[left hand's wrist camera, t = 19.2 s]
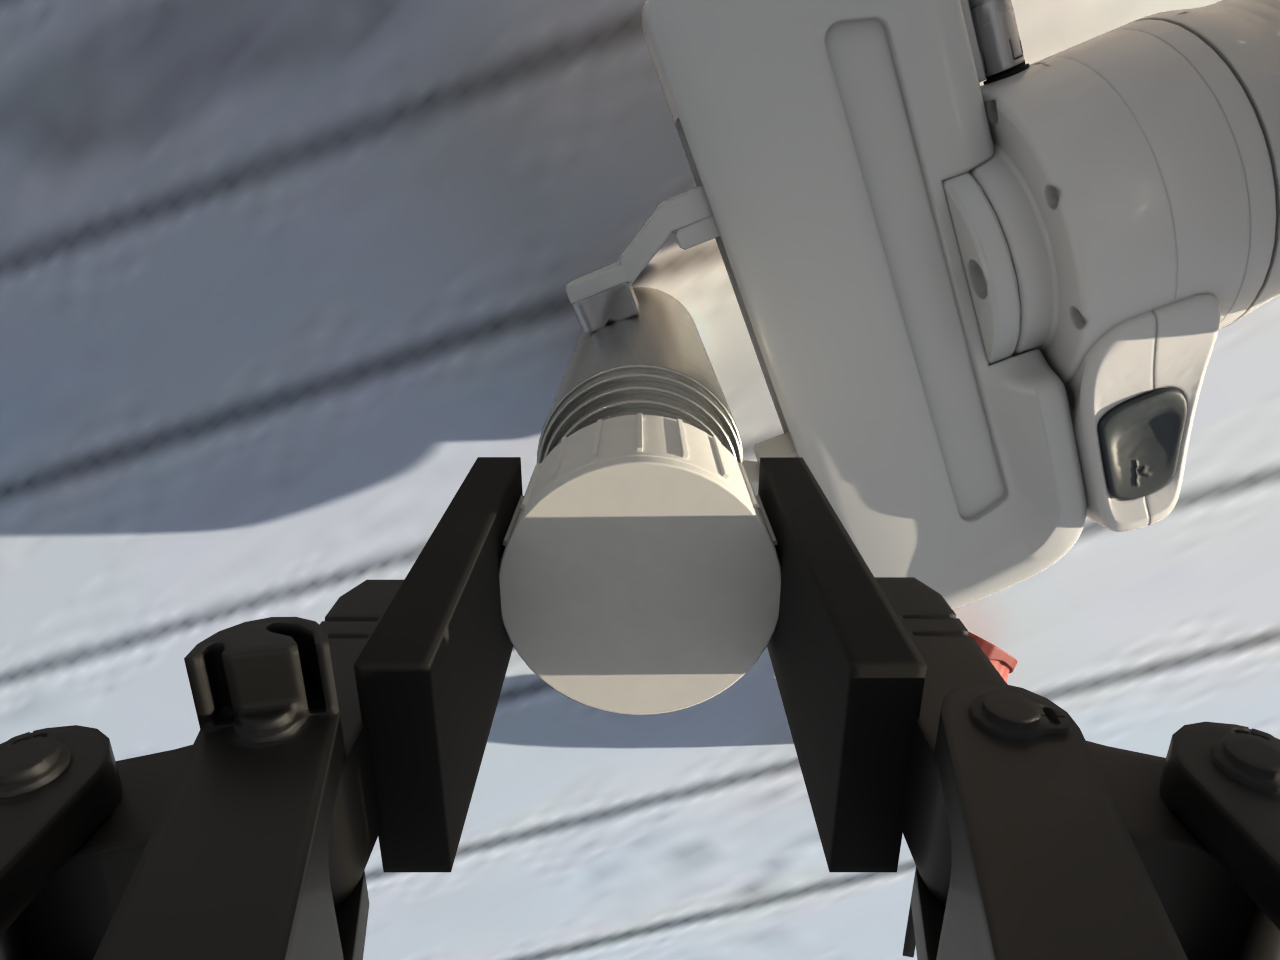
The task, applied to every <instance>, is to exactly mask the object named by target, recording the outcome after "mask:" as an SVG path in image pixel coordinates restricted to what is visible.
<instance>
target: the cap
mask: <svg viewBox="0 0 1280 960" xmlns="http://www.w3.org/2000/svg"><path fill="white" fill-rule="evenodd" d="M503 545H504V546H506V547H505V550H504V553H503V556H502V559H501V563H500V569H499V581H500V596H501V611H502V620H503V624H504V626H505V629H506V631H507V633H508V636H509V638H510V640H511V642H512V644H513V645H514V647H515V649H516V650H517V652H518V654H519V655H520V657H521V658H522V659H523V660H524V662H525V663H526V664H527V665H528V667H529V668H530V669H531V670H532V671H533V672H534V673H535V674H536V675H537V676H538V677H539V678H540V679H541V680H543V681H544V682H545V683H547V684H548V685H549V686H551V687H552V688H553V689H555V690H556V691H558V692H560V693H561V694H563V695H565V696H566V697H568V698H570V699H572V700H574V701H577V702H579V703H581V704H584V705H586V706H589V707H593V708H596V709H599V710H603V711H608V712H613V713H619V714H630V715H651V714H660V713H667V712H673V711H677V710H681V709H685V708H688V707H691V706H694V705H696V704H699V703H701V702H704V701H706V700H708V699H710V698H712V697H714V696H716V695H717V694H719V693H721V692H722V691H724V690H725V689H727V688H728V687H730V686H731V685H733V684H734V683H735V682H736V681H737V680H739V679H740V678H741V677H742V676H743V675H744V674H745V673H746V672H747V671H748V670H749V669H750V668H751V667H752V666H753V664H754V663H755V662H756V661H757V660H758V658H759V657H760V655H761V654H762V652H763V651H764V649H765V648H766V646H767V644H768V642H769V640H770V638H771V636H772V634H773V632H774V630H775V627H776V624H777V621H778V617H779V604H780V589H781V566H780V562H779V559H778V555H777V552H776V548H775V546H774V545H777V540H776V538H775V535H774V533H773V530H772V527H771V525H770V522H769V520H768V517H767V514H766V512H765V509H764V507H763V504H762V501H761V499H760V496H759V495H757V496H756V495H755V492H754V490H753V487H752V484H751V482H750V479H749V476H748V474H747V471H746V468H745V466H744V464H743V463H742V462H741V463H739V462H738V461H737V460H736V459H735V457H734V456H733V455H732V454H731V453H730V451H728V450H727V449H726V448H725V447H724V446H723V445H722V444H721V443H720V442H719V441H718V438H717V437H715V436H713V437H711V436H710V435H709V434H707V433H706V432H704V431H702V430H700V429H698V428H696V427H694V426H692V425H690V424H687V423H684V422H683V421H682V420H681V419H677V420H676V419H671V418H667V417H662V416H654V415H642V413H637V415H625V416H619V417H613V418H609V419H605V420H602V419H599V420H597V422H595V423H593V424H591V425H589V426H586V427H584V428H582V429H580V430H578V431H577V432H575V433H573V434H572V435H570V436H569V437H566V436H565V437H563V438H562V441H561V443H560V444H558V445H557V446H556V447H555V448H554V449H553V450H552V451H551V452H550V453H549V454H548V455H547V456H546V457H545V458H544V460H543V461H542V463H541V464H540V463H537V465H536V466H535V469H534V471H533V474H532V477H531V479H530V482H529V485H528V487H527V490H526V493H525V495H524V496H522V495H521V497H520V500H519V502H518V505H517V507H516V510H515V512H514V515H513V518H512V520H511V523H510V525H509V528H508V531H507V533H506V536H505V538H504V541H503Z"/></svg>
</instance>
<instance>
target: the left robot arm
mask: <svg viewBox="0 0 1280 960" xmlns="http://www.w3.org/2000/svg"><path fill="white" fill-rule="evenodd" d="M521 495H522V478H521V460H520V457H478V458H477V460H476V462H475V463H474V465H473V467H472V468H471V470H470V472H469V473H468V475H467V477H466V478H465V480H464V482H463V483H462V485H461V487H460V488H459V490H458V492H457V493H456V495H455V497H454V498H453V500H452V502H451V503H450V505H449V507H448V508H447V510H446V512H445V513H444V515H443V517H442V518H441V520H440V522H439V523H438V525H437V527H436V528H435V530H434V532H433V533H432V535H431V537H430V538H429V540H428V542H427V543H426V545H425V547H424V548H423V550H422V552H421V553H420V555H419V557H418V558H417V560H416V562H415V563H414V565H413V567H412V568H411V570H410V572H409V573H408V575H407V577H406V578H405V580H366V581H364V582H363V583H361V584H360V585H358V586H356V587H355V588H353V589H352V590H350V591H349V592H347V593H346V594H344V595H342V596H341V597H340V598H339V599H338V600H337V602H336V603H335V604H334V606H333V607H332V609H331V610H330V611H329V613H328V614H327V615H326V617H325V621H322V622H321V624H320V625H319V624H318V623H317V622H315V621H311V620H307V619H303V618H298V617H270V618H265V619H259V620H254V621H249V622H244V623H241V624H239V625H236V626H233V627H230V628H227V629H225V630H222V631H219V632H217V633H216V634H214V635H212V636H211V637H209V638H207V639H205V640H204V641H202V642H200V643H199V644H197V645H196V646H195V647H194V649H193V650H192V651H191V652H190V653H189V654H188V655H187V656H186V657H185V658H184V660H185V664H186V669H187V673H188V677H189V682H190V686H191V690H192V695H193V699H194V703H195V708H196V712H197V716H198V721H199V725H200V732H199V734H198V736H197V738H196V740H195V742H194V744H193V745H190V746H186V747H182V748H179V749H175V750H170V751H165V752H160V753H155V754H150V755H145V756H140V757H135V758H130V759H125V760H120V761H115V758H114V755H113V751H112V747H111V744H110V740H109V738H108V737H107V736H105V735H104V734H103V733H102V732H100V731H99V730H98V729H95V728H89V727H83V726H77V725H74V726H64V727H54V728H45V729H40V730H36V731H33V732H32V733H30V732H28V733H25V734H22V735H19V736H16V737H13V738H11V739H10V740H8V741H6V742H4V743H2V744H0V960H363V952H364V944H365V935H366V927H367V918H368V910H369V899H368V891H367V884H366V878H365V872H364V869H365V867H366V864H367V862H368V859H369V857H370V854H371V852H372V850H373V847H374V845H375V842H376V840H377V837H378V836H379V843H380V850H381V857H382V863H383V870H384V872H451V870H452V866H453V863H454V859H455V855H456V852H457V848H458V844H459V841H460V837H461V834H462V830H463V826H464V823H465V819H466V815H467V812H468V808H469V805H470V801H471V797H472V794H473V790H474V786H475V783H476V779H477V776H478V772H479V768H480V765H481V761H482V757H483V754H484V750H485V747H486V743H487V739H488V736H489V732H490V728H491V725H492V721H493V718H494V714H495V710H496V707H497V703H498V700H499V696H500V692H501V689H502V685H503V681H504V678H505V674H506V671H507V667H508V663H509V660H510V656H511V652H512V649H513V644H512V642H511V640H510V638H509V636H508V633H507V631H506V629H505V626H504V624H503V620H502V611H501V596H500V581H499V569H500V563H501V559H502V556H503V553H504V550H505V547H506V546H504V545H503V541H504V538H505V536H506V533H507V531H508V528H509V525H510V523H511V520H512V518H513V515H514V512H515V510H516V507H517V505H518V502H519V500H520V497H521ZM758 495H759V496H760V499H761V501H762V504H763V507H764V509H765V512H766V514H767V517H768V520H769V522H770V525H771V527H772V530H773V533H774V535H775V538H776V540H777V545H774V546H775V548H776V552H777V555H778V559H779V562H780V566H781V589H780V604H779V617H778V621H777V624H776V627H775V630H774V632H773V634H772V636H771V638H770V640H769V642H768V644H767V647H768V651H769V654H770V658H771V661H772V665H773V669H774V672H775V676H776V680H777V683H778V687H779V690H780V694H781V698H782V701H783V705H784V709H785V712H786V716H787V719H788V723H789V727H790V730H791V734H792V738H793V741H794V745H795V748H796V752H797V756H798V759H799V763H800V767H801V770H802V774H803V777H804V781H805V785H806V788H807V792H808V796H809V799H810V803H811V806H812V810H813V814H814V817H815V821H816V824H817V828H818V832H819V835H820V839H821V843H822V846H823V850H824V853H825V857H826V861H827V864H828V868H829V872H897V867H898V860H899V853H900V846H901V840H902V833H903V834H904V837H905V839H906V842H907V844H908V847H909V849H910V852H911V854H912V856H913V859H914V861H915V864H916V872H915V878H914V884H913V891H912V897H911V904H910V910H909V916H908V923H907V929H906V936H905V942H904V950H903V956H909V957H913V956H914V951H915V945H916V950H917V959H918V960H1280V740H1279V739H1277V738H1275V737H1273V736H1272V735H1270V734H1268V733H1265V732H1262V731H1259V730H1256V729H1253V728H1252V729H1249V728H1248V727H1244V726H1239V725H1235V724H1223V723H1213V722H1201V723H1195V724H1189V725H1184V726H1183V727H1182V728H1180V729H1179V730H1178V731H1177V732H1176V733H1174V734H1173V736H1172V739H1171V743H1170V746H1169V750H1168V753H1167V757H1166V758H1163V757H1158V756H1153V755H1148V754H1143V753H1138V752H1133V751H1128V750H1123V749H1118V748H1113V747H1108V746H1104V745H1100V744H1096V743H1093V742H1089V741H1085V739H1084V737H1083V734H1082V732H1081V730H1080V728H1079V727H1078V726H1077V724H1076V723H1075V722H1074V721H1073V719H1072V718H1071V717H1070V715H1069V714H1068V713H1067V712H1066V711H1064V710H1063V709H1061V708H1060V707H1059V706H1057V705H1056V704H1054V703H1053V702H1051V701H1050V700H1048V699H1047V698H1045V697H1042V696H1040V695H1038V694H1035V693H1033V692H1030V691H1028V690H1026V689H1023V688H1020V687H1015V686H1010V685H1008V684H1007V683H1006V682H1005V680H1004V679H1003V678H1002V676H1001V675H1000V674H999V672H998V671H997V670H996V668H995V667H994V666H993V664H992V663H991V661H990V660H989V659H988V657H987V656H986V655H985V653H984V652H983V651H982V649H981V648H980V647H979V645H978V644H977V642H976V641H975V640H974V638H973V637H972V636H969V635H968V630H967V629H966V628H965V626H964V625H963V624H962V622H961V621H960V619H956V614H955V613H954V611H953V610H952V609H951V607H950V606H949V605H948V603H947V602H946V600H945V599H944V598H943V596H942V595H941V594H939V593H938V592H936V591H935V590H933V589H932V588H930V587H928V586H927V585H925V584H924V583H922V582H921V581H919V580H918V579H916V578H914V577H874V576H873V574H872V572H871V571H870V569H869V567H868V566H867V564H866V562H865V561H864V559H863V557H862V556H861V554H860V552H859V551H858V549H857V547H856V546H855V544H854V542H853V541H852V539H851V537H850V536H849V534H848V532H847V531H846V529H845V527H844V526H843V524H842V522H841V521H840V519H839V517H838V516H837V514H836V512H835V511H834V509H833V507H832V506H831V504H830V502H829V501H828V499H827V497H826V496H825V494H824V492H823V491H822V489H821V487H820V486H819V484H818V482H817V481H816V479H815V477H814V476H813V474H812V472H811V471H810V469H809V467H808V466H807V464H806V462H805V461H804V459H803V457H760V469H759V487H758Z"/></svg>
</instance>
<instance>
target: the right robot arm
mask: <svg viewBox="0 0 1280 960" xmlns="http://www.w3.org/2000/svg"><path fill="white" fill-rule="evenodd" d="M642 29H643V34H644V37H645V41H646V43H647V46H648V49H649V52H650V55H651V58H652V61H653V64H654V66H655V69H656V72H657V75H658V78H659V80H660V83H661V86H662V89H663V92H664V95H665V97H666V100H667V103H668V106H669V109H670V112H671V114H672V117H673V120H674V123H675V126H676V129H677V131H678V134H679V137H680V140H681V143H682V146H683V148H684V151H685V154H686V157H687V160H688V162H689V165H690V168H691V171H692V174H693V177H694V179H695V182H696V185H697V187H695V188H693V189H691V190H688V191H686V192H684V193H681V194H679V195H677V196H674V197H672V198H670V199H668V200H665V201H663V202H661V203H660V204H659V205H658V207H657V208H656V209H655V211H654V212H653V213H652V215H651V216H650V217H649V219H648V220H647V221H646V223H645V224H644V225H643V227H642V228H641V229H640V231H639V232H638V233H637V235H636V236H635V237H634V239H633V240H632V241H631V243H630V244H629V245H628V247H627V248H626V249H625V251H624V252H623V253H622V255H621V257H620V260H619V261H617V262H615V263H613V264H610V265H608V266H605V267H603V268H601V269H598V270H596V271H593V272H591V273H589V274H586V275H584V276H581V277H579V278H577V279H575V280H573V281H572V282H570V283H568V284H567V285H566V286H565V287H564V288H565V290H566V293H567V295H568V298H569V300H570V303H571V305H572V307H573V309H574V311H575V314H576V316H577V318H578V320H579V323H580V325H581V327H582V329H583V332H584V333H590V332H593V331H596V330H599V329H600V328H602V327H604V326H605V325H606V323H607V322H608V320H609V319H610V320H614V321H619V320H623V319H626V318H628V317H631V316H633V315H635V314H638V313H639V303H638V300H637V298H636V295H635V292H634V290H633V287H632V284H633V282H634V281H635V280H636V278H637V277H638V276H639V274H640V273H641V272H642V271H643V269H644V268H645V267H646V265H647V264H648V263H649V262H650V260H651V259H652V258H653V256H654V255H655V254H656V252H657V251H658V250H659V249H660V247H661V246H662V245H663V243H664V242H665V241H666V240H667V238H668V237H669V236H670V234H671V233H672V232H673V234H674V236H675V239H676V242H677V244H678V245H679V247H680V248H682V249H685V250H686V249H688V248H691V247H693V246H696V245H698V244H701V243H703V242H706V241H708V240H711V239H713V238H715V239H716V242H717V244H718V247H719V250H720V253H721V256H722V259H723V261H724V264H725V267H726V270H727V273H728V276H729V278H730V281H731V284H732V287H733V290H734V293H735V295H736V298H737V301H738V304H739V307H740V309H741V312H742V315H743V318H744V321H745V324H746V326H747V329H748V332H749V335H750V338H751V341H752V343H753V346H754V349H755V352H756V355H757V358H758V360H759V363H760V366H761V369H762V372H763V375H764V377H765V380H766V383H767V386H768V389H769V391H770V394H771V397H772V400H773V403H774V406H775V408H776V411H777V414H778V417H779V420H780V423H781V425H782V428H783V431H784V434H781V435H779V436H776V437H773V438H771V439H768V440H766V441H763V442H761V443H758V444H756V445H755V446H754V448H753V449H754V452H755V455H756V458H757V460H758V461H757V462H754V461H745V460H743V464H744V466H745V468H746V471H747V474H748V476H749V479H750V482H751V484H752V487H753V490H754V492H755V495H756V496H757V495H758V487H759V469H760V457H803V459H804V461H805V462H806V464H807V466H808V467H809V469H810V471H811V472H812V474H813V476H814V477H815V479H816V481H817V482H818V484H819V486H820V487H821V489H822V491H823V492H824V494H825V496H826V497H827V499H828V501H829V502H830V504H831V506H832V507H833V509H834V511H835V512H836V514H837V516H838V517H839V519H840V521H841V522H842V524H843V526H844V527H845V529H846V531H847V532H848V534H849V536H850V537H851V539H852V541H853V542H854V544H855V546H856V547H857V549H858V551H859V552H860V554H861V556H862V557H863V559H864V561H865V562H866V564H867V566H868V567H869V569H870V571H871V572H872V574H873V576H874V577H914V578H916V579H918V580H919V581H921V582H922V583H924V584H925V585H927V586H928V587H930V588H932V589H933V590H935V591H936V592H938V593H939V594H941V595H942V596H943V598H944V599H945V600H946V602H947V603H948V605H949V606H950V607H951V609H952V610H953V609H956V608H959V607H961V606H964V605H967V604H969V603H972V602H974V601H977V600H979V599H982V598H984V597H987V596H989V595H992V594H994V593H997V592H999V591H1001V590H1004V589H1006V588H1008V587H1010V586H1013V585H1015V584H1017V583H1019V582H1022V581H1024V580H1026V579H1028V578H1030V577H1032V576H1034V575H1036V574H1038V573H1040V572H1042V571H1043V570H1045V569H1047V568H1048V567H1050V566H1051V565H1053V564H1054V563H1056V562H1057V561H1058V560H1059V559H1061V558H1062V557H1063V556H1064V555H1065V554H1066V553H1067V552H1068V551H1069V550H1070V549H1071V548H1072V546H1073V545H1074V544H1075V542H1076V541H1077V539H1078V538H1079V536H1080V534H1081V532H1082V529H1083V527H1084V523H1085V519H1086V516H1087V517H1088V518H1090V519H1091V520H1093V521H1095V522H1097V523H1099V524H1101V525H1102V526H1104V527H1106V528H1108V529H1110V530H1113V531H1117V532H1125V531H1131V530H1135V529H1139V528H1142V527H1145V526H1147V525H1151V524H1153V523H1156V522H1158V521H1160V520H1161V519H1163V518H1165V517H1166V516H1167V515H1168V514H1169V513H1170V512H1171V511H1172V510H1173V508H1174V507H1175V505H1176V502H1177V500H1178V497H1179V494H1180V489H1181V485H1182V479H1183V473H1184V467H1185V462H1186V456H1187V450H1188V445H1189V439H1190V434H1191V429H1192V425H1193V420H1194V415H1195V410H1196V406H1197V402H1198V398H1199V394H1200V390H1201V386H1202V382H1203V379H1204V375H1205V372H1206V368H1207V365H1208V362H1209V359H1210V356H1211V353H1212V350H1213V347H1214V344H1215V341H1216V338H1217V334H1218V329H1220V328H1223V327H1226V326H1228V325H1230V324H1232V323H1234V322H1236V321H1237V320H1239V319H1240V318H1242V317H1244V316H1245V315H1247V314H1249V313H1250V312H1252V311H1253V310H1255V309H1256V308H1258V307H1260V306H1261V305H1263V304H1265V303H1266V302H1268V301H1270V300H1272V299H1273V298H1275V297H1277V296H1280V0H1222V1H1220V2H1217V3H1215V4H1212V5H1209V6H1205V7H1200V8H1194V9H1183V10H1174V11H1167V12H1161V13H1157V14H1154V15H1150V16H1147V17H1144V18H1141V19H1138V20H1135V21H1133V22H1130V23H1128V24H1126V25H1124V26H1121V27H1119V28H1117V29H1114V30H1112V31H1110V32H1107V33H1104V34H1102V35H1100V36H1097V37H1095V38H1093V39H1090V40H1088V41H1085V42H1083V43H1081V44H1078V45H1076V46H1074V47H1071V48H1069V49H1066V50H1064V51H1062V52H1059V53H1057V54H1055V55H1052V56H1050V57H1047V58H1045V59H1043V60H1040V61H1038V62H1035V63H1033V64H1031V65H1029V64H1026V65H1025V60H1024V57H1023V50H1022V46H1021V41H1020V38H1019V33H1018V29H1017V24H1016V19H1015V15H1014V10H1013V6H1012V2H1011V0H646V1H645V3H644V6H643V10H642ZM984 80H986V81H984ZM981 81H984V85H982V86H980V84H979V82H981Z"/></svg>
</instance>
